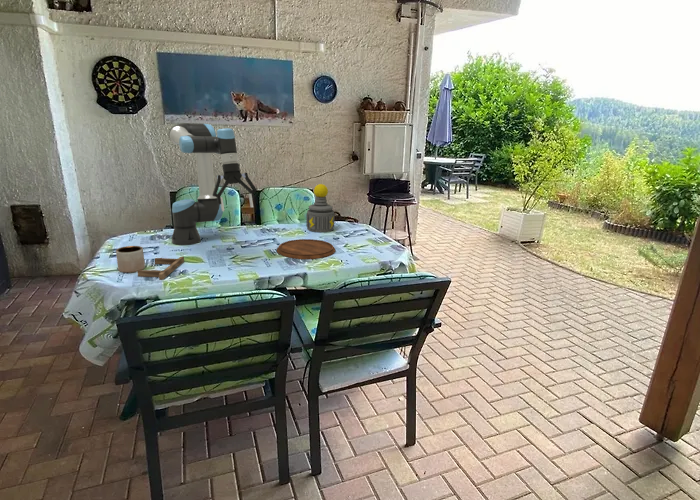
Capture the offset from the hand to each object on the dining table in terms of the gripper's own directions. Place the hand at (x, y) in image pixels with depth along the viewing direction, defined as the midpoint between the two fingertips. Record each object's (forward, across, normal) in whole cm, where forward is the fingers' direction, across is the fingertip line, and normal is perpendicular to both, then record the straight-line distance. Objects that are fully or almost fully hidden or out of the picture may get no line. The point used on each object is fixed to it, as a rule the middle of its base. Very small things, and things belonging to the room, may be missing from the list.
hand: (237, 209), depth 188 cm
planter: (+21, -48, +14) cm, 55 cm away
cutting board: (+28, +36, +11) cm, 47 cm away
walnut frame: (+23, -37, +8) cm, 44 cm away
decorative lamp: (+23, +64, +50) cm, 84 cm away
